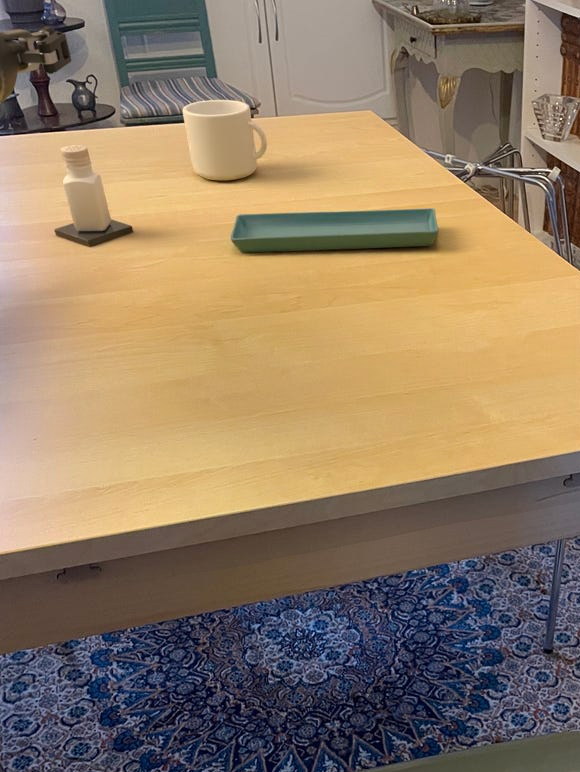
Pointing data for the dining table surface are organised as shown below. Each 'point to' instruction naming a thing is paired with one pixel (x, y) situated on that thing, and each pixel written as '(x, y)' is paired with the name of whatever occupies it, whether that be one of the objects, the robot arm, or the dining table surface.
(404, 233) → the rectangular tray
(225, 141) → the mug
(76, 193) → the salt shaker
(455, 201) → the dining table surface
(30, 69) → the robot arm
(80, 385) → the dining table surface
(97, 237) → the coaster
